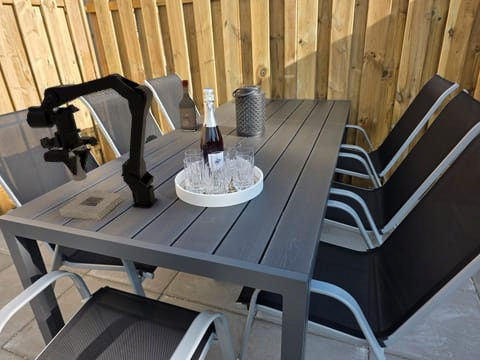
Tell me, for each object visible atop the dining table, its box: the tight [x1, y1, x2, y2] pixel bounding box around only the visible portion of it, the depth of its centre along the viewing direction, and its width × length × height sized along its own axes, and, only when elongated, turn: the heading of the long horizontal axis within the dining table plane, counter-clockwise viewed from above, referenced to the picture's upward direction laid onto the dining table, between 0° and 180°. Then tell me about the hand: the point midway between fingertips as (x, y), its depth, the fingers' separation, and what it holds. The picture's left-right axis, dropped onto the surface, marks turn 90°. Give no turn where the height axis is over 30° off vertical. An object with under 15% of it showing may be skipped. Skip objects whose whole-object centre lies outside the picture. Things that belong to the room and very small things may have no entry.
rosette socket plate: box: [59, 190, 124, 221], centre depth 107 cm, size 14×14×2 cm
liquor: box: [178, 79, 198, 130], centre depth 194 cm, size 9×9×30 cm
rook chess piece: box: [71, 154, 88, 182], centre depth 106 cm, size 4×4×8 cm
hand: (78, 172), depth 107 cm, fingers closed on rook chess piece, 3 cm apart
